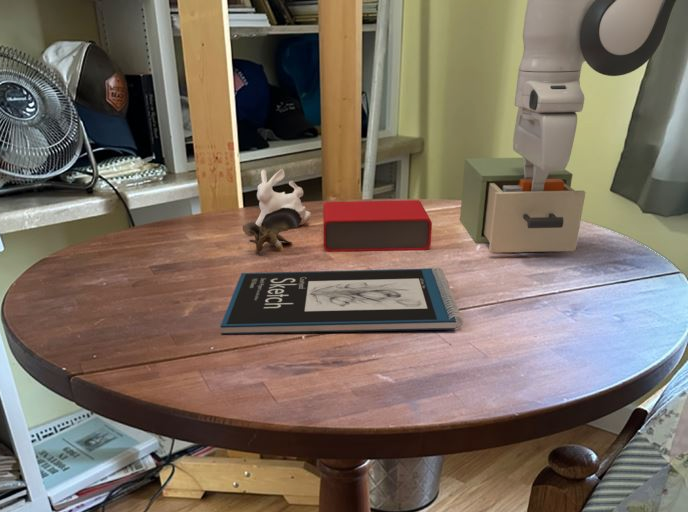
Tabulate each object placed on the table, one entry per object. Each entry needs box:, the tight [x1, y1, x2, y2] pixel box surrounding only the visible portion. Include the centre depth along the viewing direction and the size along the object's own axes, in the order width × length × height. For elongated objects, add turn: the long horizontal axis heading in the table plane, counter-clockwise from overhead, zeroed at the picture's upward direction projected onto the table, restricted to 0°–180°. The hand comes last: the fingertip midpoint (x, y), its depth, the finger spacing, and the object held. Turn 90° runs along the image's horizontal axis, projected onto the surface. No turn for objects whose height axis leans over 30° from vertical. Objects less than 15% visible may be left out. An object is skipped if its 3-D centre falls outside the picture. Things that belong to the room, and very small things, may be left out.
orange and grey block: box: [502, 179, 564, 192], centre depth 111 cm, size 9×3×4 cm, turn 90°
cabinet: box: [459, 157, 573, 244], centre depth 124 cm, size 17×15×11 cm
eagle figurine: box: [241, 207, 302, 255], centre depth 118 cm, size 8×7×9 cm
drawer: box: [482, 181, 587, 253], centre depth 114 cm, size 21×14×9 cm, turn 0°
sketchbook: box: [219, 266, 464, 335], centre depth 95 cm, size 22×30×2 cm
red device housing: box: [322, 199, 433, 253], centre depth 122 cm, size 18×14×5 cm
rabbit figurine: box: [254, 168, 312, 227], centre depth 131 cm, size 12×8×10 cm, turn 95°
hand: (532, 192), depth 111 cm, fingers closed on orange and grey block, 2 cm apart
